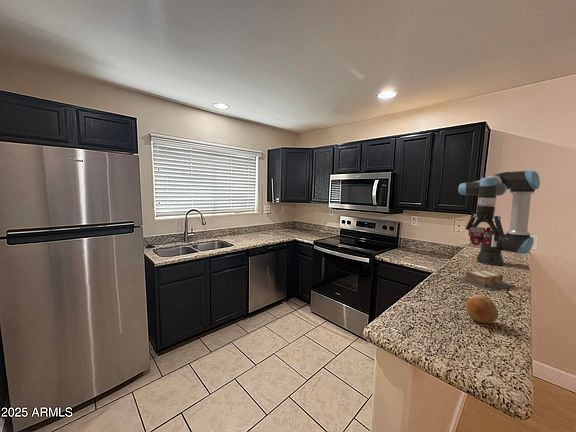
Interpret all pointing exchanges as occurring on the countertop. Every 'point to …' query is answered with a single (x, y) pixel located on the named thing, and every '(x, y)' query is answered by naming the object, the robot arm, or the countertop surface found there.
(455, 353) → the countertop surface
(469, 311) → the onion
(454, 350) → the countertop surface
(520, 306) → the countertop surface
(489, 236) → the toy fire truck
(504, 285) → the build mat
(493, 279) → the plinth
